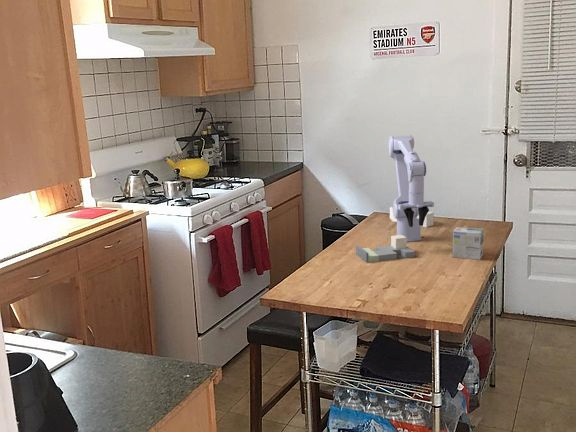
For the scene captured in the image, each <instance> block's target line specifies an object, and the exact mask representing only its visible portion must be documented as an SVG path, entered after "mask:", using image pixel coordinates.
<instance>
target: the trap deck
mask: <svg viewBox="0 0 576 432" xmlns="http://www.w3.org/2000/svg"><path fill="white" fill-rule="evenodd" d="M355 255H356V256H358V258H360V260H361V259H362V261H364V262H365V263H372V262H373V263H374V262H381V261H391V260H400V259H407V258H415V256H416V251H415V250H413V249H412V248H410V247H409V246H407V245H406V248H397V249H396V248H394V247H393V246H391V244H389V245H383V246H381V245H380V246H376V247H375V250H372V249H370V248H369V247H363V248H362V247H361V246H360V245H358V244H357V245H355Z"/></svg>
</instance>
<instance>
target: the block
mask: <svg viewBox="0 0 576 432" xmlns="http://www.w3.org/2000/svg"><path fill="white" fill-rule="evenodd" d="M406 241H407V238H406V237H405V236H403V235H397V234H395V235H391V236H390V242H391V244H390V245H391V246H393V247H394V248H396V249H397V248H406V246H407V242H406Z"/></svg>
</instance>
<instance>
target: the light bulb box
mask: <svg viewBox="0 0 576 432" xmlns="http://www.w3.org/2000/svg"><path fill="white" fill-rule="evenodd" d="M451 254H452V256H451V257H452V258H456V259H457V258H458V259H466V260H468V259H469V260H477V261H478V260H481V259H482V258H483V256H484V228H474V227H462V226H456V227H455V228H454V229H453V230H452V253H451Z"/></svg>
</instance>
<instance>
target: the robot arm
mask: <svg viewBox="0 0 576 432" xmlns="http://www.w3.org/2000/svg"><path fill="white" fill-rule="evenodd" d="M414 148H415V139H414V136H413V135H396V136H395V135H393V136H392V135H390V136H389V137H388V152H389V153H388V154H389V157H390V158H392V159H393V161H394V166H395V173H396V182H397V183H396V184H397V191H398V196H397V197H396V198H395V199H394V200H393V202H392V207H393V215H394V217H395V218H396V219H397V222H396V235H403V236H405V237H406V238H407V241H406V243H407V242H415V241H422V237H421V232H422V231H421V229H422V227H421V226H423V223H424V220H425V217H426V215H427V213H428V212H430V209H429V208H434V207H435V202H434V201H432V200H431V201H430V200H429V201H428V200H427V201H425V200H424V199H425V198H424V197H425V193H424V192H425V177H426V175H427V165H426V164H427V163H426V161H424V160H421V158H420V156H419V155H418V153H417V152H416V151H414ZM418 215H419V219H418V218H417V216H418Z"/></svg>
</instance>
